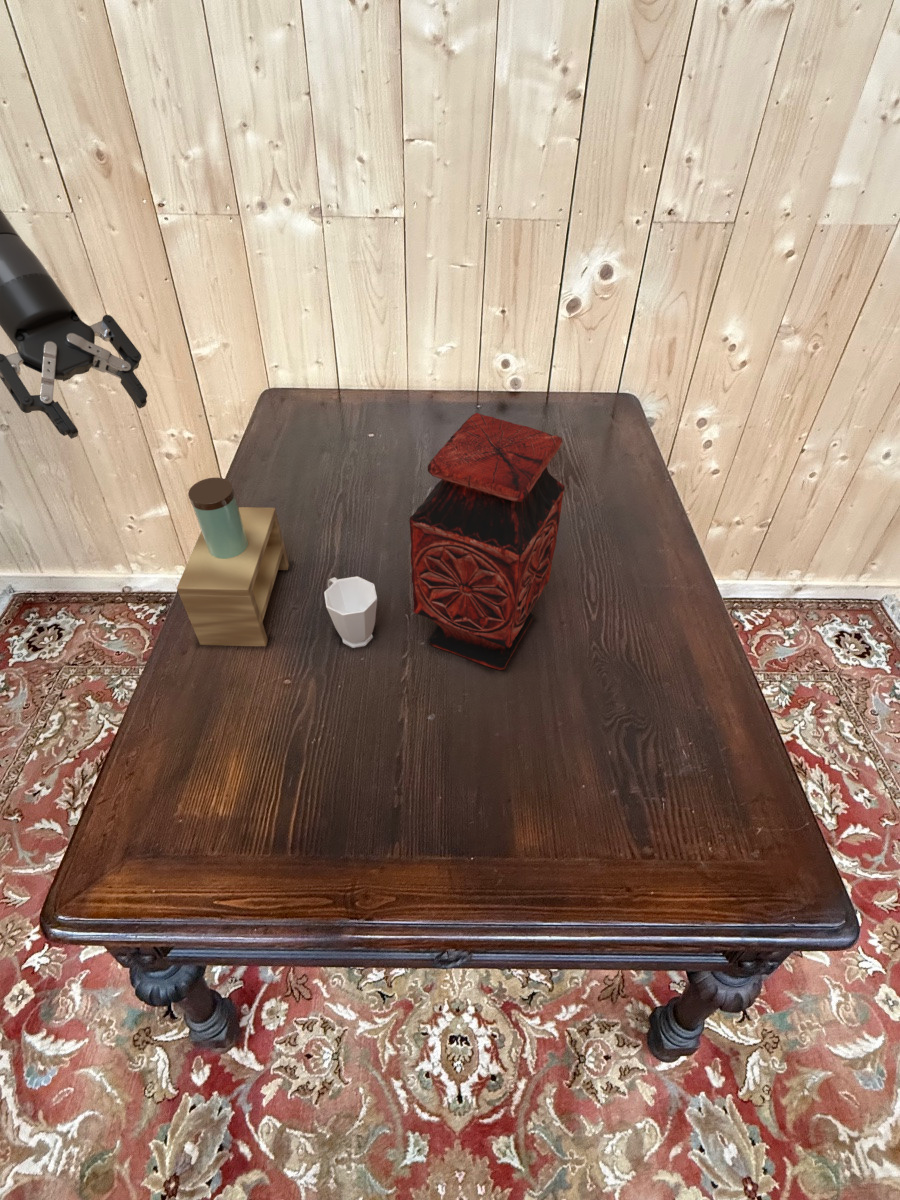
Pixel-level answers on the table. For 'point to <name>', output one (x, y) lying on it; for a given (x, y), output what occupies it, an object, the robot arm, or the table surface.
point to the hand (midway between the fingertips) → (110, 419)
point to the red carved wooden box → (486, 537)
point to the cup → (352, 609)
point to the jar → (218, 517)
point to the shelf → (234, 584)
